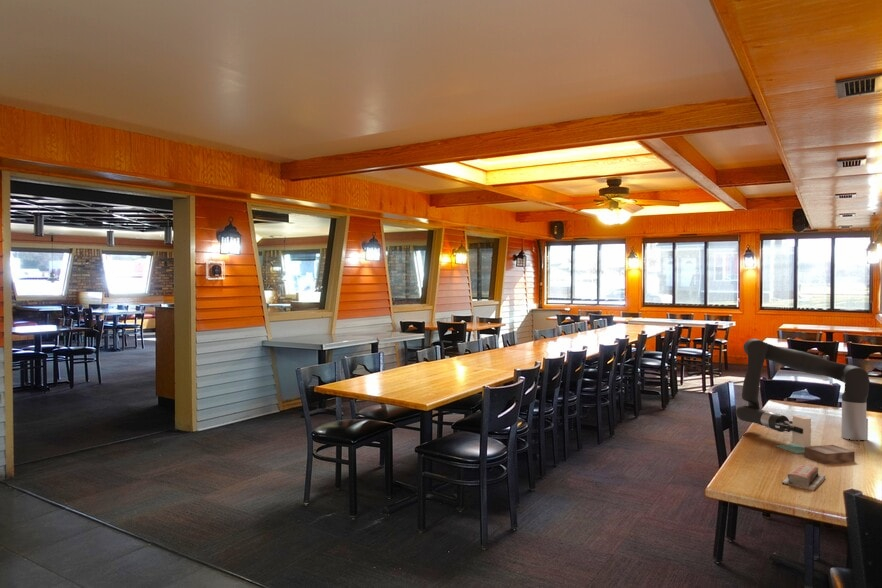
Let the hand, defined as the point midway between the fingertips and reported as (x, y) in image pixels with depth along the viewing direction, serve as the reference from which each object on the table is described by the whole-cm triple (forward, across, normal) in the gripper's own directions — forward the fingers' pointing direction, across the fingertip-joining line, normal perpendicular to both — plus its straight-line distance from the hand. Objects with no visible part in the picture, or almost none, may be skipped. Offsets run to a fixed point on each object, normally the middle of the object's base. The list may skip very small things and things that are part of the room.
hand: (806, 431), depth 244 cm
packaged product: (+31, -32, +9) cm, 45 cm away
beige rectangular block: (-2, 0, +7) cm, 7 cm away
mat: (-3, 0, +9) cm, 9 cm away
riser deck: (+11, 0, +8) cm, 14 cm away
